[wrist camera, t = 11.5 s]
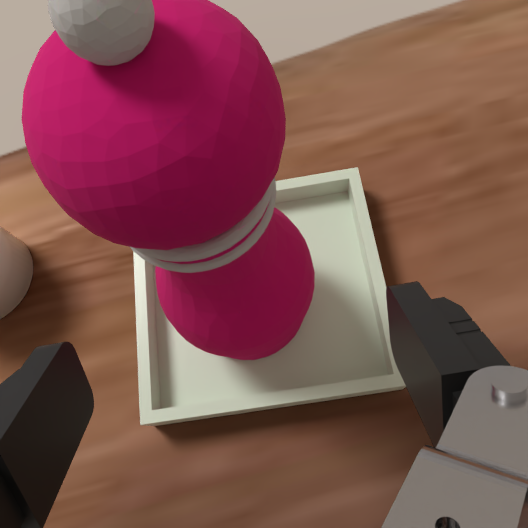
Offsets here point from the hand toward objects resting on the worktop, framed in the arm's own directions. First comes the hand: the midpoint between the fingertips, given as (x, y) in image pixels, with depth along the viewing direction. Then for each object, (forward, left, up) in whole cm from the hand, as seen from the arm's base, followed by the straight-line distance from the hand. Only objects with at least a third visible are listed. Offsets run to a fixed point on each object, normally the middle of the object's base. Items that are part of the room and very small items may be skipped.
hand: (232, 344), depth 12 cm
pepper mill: (-1, +5, -13) cm, 14 cm away
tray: (0, +5, -14) cm, 15 cm away
